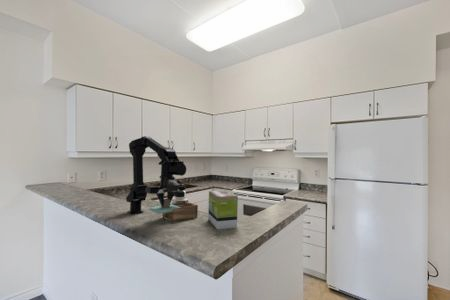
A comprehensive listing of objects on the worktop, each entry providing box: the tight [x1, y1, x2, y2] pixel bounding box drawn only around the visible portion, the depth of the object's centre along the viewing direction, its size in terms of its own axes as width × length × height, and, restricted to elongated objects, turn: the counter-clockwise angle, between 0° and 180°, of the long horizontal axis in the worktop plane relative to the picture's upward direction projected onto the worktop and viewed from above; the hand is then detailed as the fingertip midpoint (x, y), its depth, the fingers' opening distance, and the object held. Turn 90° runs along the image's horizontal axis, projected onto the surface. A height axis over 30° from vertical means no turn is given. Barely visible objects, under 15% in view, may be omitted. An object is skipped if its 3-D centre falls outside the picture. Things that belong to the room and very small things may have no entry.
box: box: [162, 201, 199, 223], centre depth 106 cm, size 11×14×6 cm
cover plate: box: [149, 198, 181, 215], centre depth 100 cm, size 9×12×5 cm
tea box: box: [207, 190, 239, 230], centre depth 98 cm, size 15×10×15 cm
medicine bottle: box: [171, 189, 189, 204], centre depth 117 cm, size 7×7×12 cm
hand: (165, 206), depth 100 cm, fingers closed on cover plate, 3 cm apart
